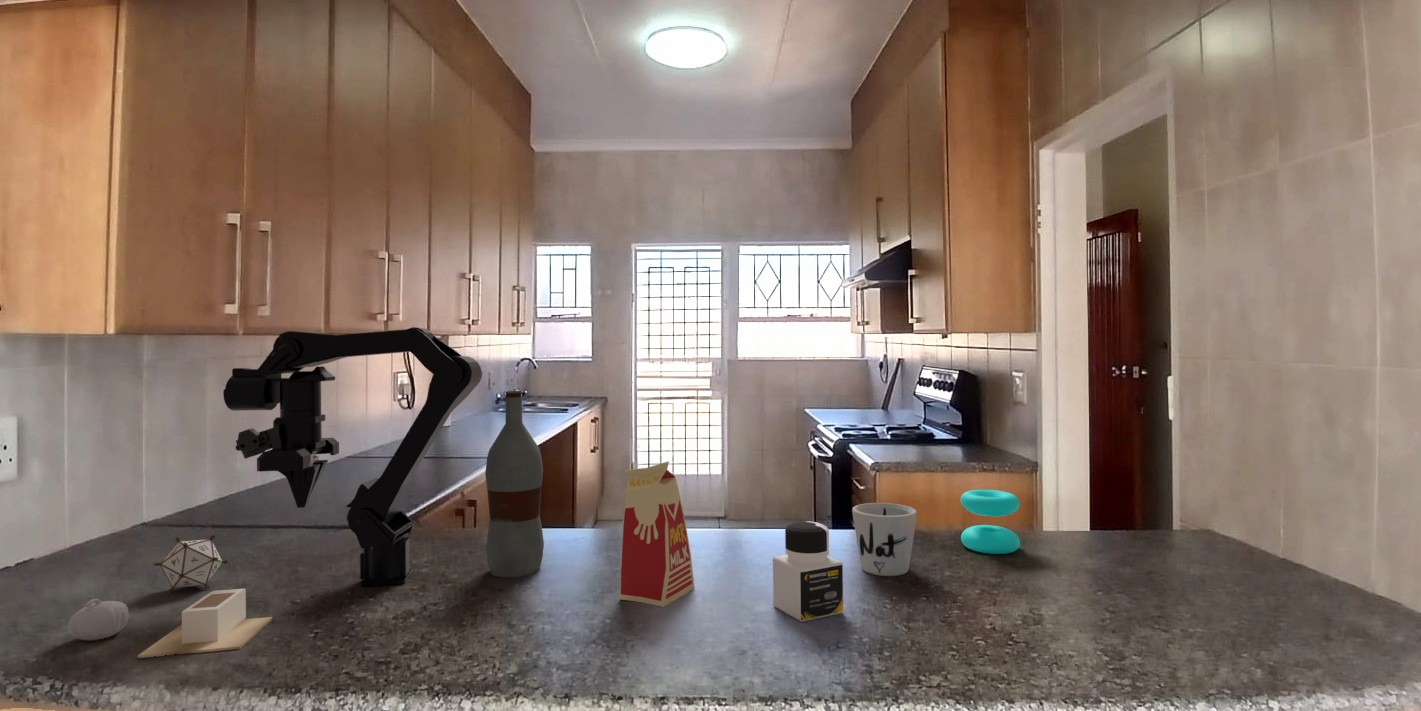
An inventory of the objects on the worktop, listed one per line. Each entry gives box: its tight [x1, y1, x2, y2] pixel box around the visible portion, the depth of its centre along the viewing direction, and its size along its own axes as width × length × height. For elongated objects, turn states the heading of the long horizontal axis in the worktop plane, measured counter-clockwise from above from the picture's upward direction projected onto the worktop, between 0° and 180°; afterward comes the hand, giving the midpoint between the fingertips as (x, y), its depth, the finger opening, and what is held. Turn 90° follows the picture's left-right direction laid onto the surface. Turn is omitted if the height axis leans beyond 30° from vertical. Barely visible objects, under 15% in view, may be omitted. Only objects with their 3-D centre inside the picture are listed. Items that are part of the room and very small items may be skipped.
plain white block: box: [181, 588, 247, 644], centre depth 92 cm, size 4×4×8 cm
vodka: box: [484, 390, 545, 579], centre depth 117 cm, size 9×9×30 cm
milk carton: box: [618, 461, 695, 608], centre depth 105 cm, size 9×9×20 cm
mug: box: [851, 502, 918, 577], centre depth 117 cm, size 10×15×10 cm
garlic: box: [67, 598, 130, 641], centre depth 90 cm, size 6×5×5 cm
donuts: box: [960, 489, 1021, 555], centre depth 127 cm, size 10×10×10 cm
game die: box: [152, 533, 230, 594], centre depth 109 cm, size 9×8×10 cm
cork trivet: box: [137, 616, 273, 659], centre depth 90 cm, size 11×10×1 cm
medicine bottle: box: [772, 520, 844, 623], centre depth 97 cm, size 7×7×12 cm
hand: (301, 507), depth 112 cm, fingers closed
